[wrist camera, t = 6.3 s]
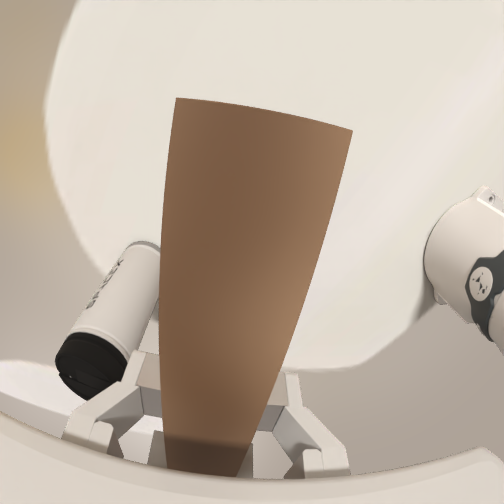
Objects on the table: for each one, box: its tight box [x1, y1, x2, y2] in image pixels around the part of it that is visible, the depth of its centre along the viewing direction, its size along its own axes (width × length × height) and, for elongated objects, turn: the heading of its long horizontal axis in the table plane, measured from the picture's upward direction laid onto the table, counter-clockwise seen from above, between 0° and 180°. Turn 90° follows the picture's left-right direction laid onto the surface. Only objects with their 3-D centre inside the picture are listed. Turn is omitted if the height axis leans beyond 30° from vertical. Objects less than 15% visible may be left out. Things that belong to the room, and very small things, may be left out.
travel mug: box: [55, 241, 161, 401], centre depth 28 cm, size 6×7×20 cm
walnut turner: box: [147, 98, 353, 478], centre depth 10 cm, size 6×19×5 cm, turn 170°
